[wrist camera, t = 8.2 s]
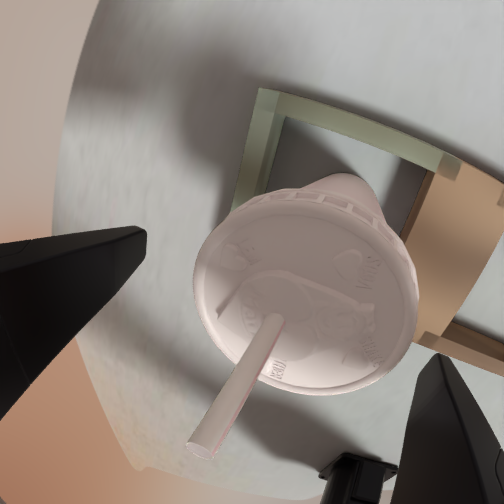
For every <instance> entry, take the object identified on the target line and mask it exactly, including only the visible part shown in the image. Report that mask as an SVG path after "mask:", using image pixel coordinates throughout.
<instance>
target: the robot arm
mask: <svg viewBox="0 0 504 504" xmlns="http://www.w3.org/2000/svg"><path fill="white" fill-rule="evenodd" d="M146 245H147V232H146V231H145V230H144V229H142V228H140V227H138V226H126V227H118V228H110V229H102V230H94V231H87V232H79V233H72V234H65V235H58V236H51V237H44V238H37V239H33V240H31V239H30V240H24V241H17V242H10V243H2V244H0V421H1V419H2V418H3V417H4V416H5V414H6V413H7V412H8V411H9V410H10V408H11V407H12V406H13V405H14V404H15V402H16V401H17V400H18V399H19V398H20V397H21V395H22V394H23V393H24V392H25V391H26V390H27V388H28V387H29V386H30V384H32V382H33V381H34V380H35V379H36V378H37V377H38V376H39V375H40V374H41V372H42V371H43V370H44V369H45V368H46V367H47V365H49V364H50V362H51V361H52V360H53V359H54V358H55V357H56V356H57V355H58V354H59V353H60V352H61V350H62V349H63V348H64V347H65V346H66V345H67V344H68V343H69V342H70V341H71V340H72V339H73V338H74V337H75V335H76V334H77V333H78V332H79V331H80V330H81V329H82V328H83V327H84V326H85V325H86V324H87V323H88V322H89V321H90V320H91V319H92V318H93V317H94V316H95V315H96V314H97V313H98V312H99V311H100V310H101V309H102V308H103V306H104V305H105V304H106V303H107V302H108V301H109V300H110V299H111V298H112V297H113V296H114V295H115V294H116V293H117V292H118V291H119V290H120V288H121V287H122V286H123V285H124V283H125V282H126V281H127V280H128V279H129V277H130V276H131V275H132V274H133V272H134V271H135V270H136V269H137V268H138V266H139V265H140V264H141V263H142V262H143V260H144V258H145V256H146ZM500 448H501V446H500V444H499V442H498V440H497V438H496V436H495V434H494V432H493V430H492V429H491V427H490V425H489V423H488V421H487V420H486V418H485V416H484V414H483V412H482V411H481V409H480V407H479V405H478V404H477V402H476V400H475V399H474V397H473V395H472V393H471V392H470V390H469V388H468V387H467V385H466V383H465V382H464V380H463V379H462V377H461V375H460V374H459V372H458V370H457V369H456V367H455V366H454V364H453V363H452V361H451V359H450V358H449V357H448V356H445V355H443V354H440V353H436V354H435V355H434V356H433V357H432V358H431V359H430V360H429V362H428V363H427V364H426V365H425V367H424V368H423V369H422V370H421V372H420V373H419V375H418V378H417V383H416V387H415V392H414V396H413V400H412V405H411V409H410V413H409V417H408V421H407V426H406V431H405V437H404V443H403V448H402V454H401V459H400V464H399V468H397V467H393V466H390V465H386V464H382V463H378V462H375V461H371V460H368V459H364V458H361V457H358V456H355V455H351V454H348V453H343V454H341V455H340V456H339V457H338V458H337V459H336V460H335V461H333V462H332V463H331V464H330V465H329V466H327V467H326V468H325V469H324V470H323V471H321V472H320V473H319V476H318V477H319V478H321V479H324V480H327V484H326V487H325V490H324V493H323V496H322V499H321V502H320V504H379V501H380V498H381V493H382V488H383V483H384V482H385V481H387V480H388V479H390V478H392V477H393V476H395V475H396V474H397V478H396V482H395V486H394V491H393V495H392V499H391V502H390V504H504V451H503V449H502V448H501V449H500ZM0 504H6V503H5V502H4V501H3V500H2V499H1V497H0Z"/></svg>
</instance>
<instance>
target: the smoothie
mask: <svg viewBox="0 0 504 504" xmlns="http://www.w3.org/2000/svg"><path fill="white" fill-rule="evenodd" d="M193 292H194V299H195V303H196V307H197V310H198V313H199V316H200V318H201V321H202V323H203V325H204V327H205V329H206V331H207V332H208V334H209V335H210V337H211V338H212V340H213V341H214V343H215V344H216V345H217V347H218V348H219V349H220V350H221V351H222V352H223V353H224V354H225V355H226V356H227V357H228V358H229V359H230V360H231V361H232V362H233V363H235V364H236V367H235V369H234V370H233V372H232V373H231V375H230V377H229V378H228V380H227V381H226V383H225V385H224V386H223V388H222V389H221V391H220V392H219V394H218V396H217V397H216V399H215V400H214V402H213V403H212V405H211V407H210V408H209V410H208V411H207V413H206V414H205V416H204V417H203V419H202V421H201V422H200V424H199V425H198V427H197V428H196V430H195V431H194V433H193V434H192V436H191V437H190V439H189V440H188V442H187V443H186V446H187V448H188V449H189V450H190V451H191V452H192V453H194V454H195V455H197V456H199V457H201V458H204V459H208V460H211V459H213V458H214V456H215V455H216V453H217V451H218V449H219V448H220V446H221V444H222V442H223V441H224V439H225V437H226V436H227V434H228V432H229V430H230V428H231V427H232V425H233V423H234V421H235V420H236V418H237V416H238V414H239V412H240V411H241V409H242V407H243V405H244V403H245V401H246V400H247V398H248V396H249V394H250V392H251V390H252V388H253V387H254V385H255V383H256V381H257V379H258V380H260V381H262V382H264V383H267V384H269V385H271V386H273V387H276V388H279V389H283V390H286V391H290V392H293V393H299V394H306V395H335V394H342V393H348V392H351V391H355V390H358V389H361V388H363V387H366V386H368V385H370V384H372V383H374V382H376V381H377V380H379V379H381V378H382V377H383V376H385V375H386V374H387V373H389V372H390V371H391V370H392V369H393V368H394V367H395V366H396V365H397V364H398V363H399V362H400V360H401V359H402V358H403V356H404V355H405V353H406V352H407V350H408V348H409V346H410V344H411V342H412V340H413V337H414V334H415V330H416V326H417V318H418V301H419V290H418V282H417V275H416V268H415V266H414V264H413V262H412V260H411V258H410V256H409V254H408V252H407V249H406V247H405V245H404V243H403V241H402V240H401V239H400V238H399V237H398V235H397V234H396V233H395V232H394V231H393V230H392V229H391V228H390V227H389V226H388V225H387V223H386V220H385V218H384V215H383V213H382V210H381V208H380V205H379V203H378V200H377V198H376V195H375V193H374V191H373V190H372V188H371V187H370V186H369V185H368V184H367V183H366V182H365V181H364V180H362V179H361V178H359V177H357V176H355V175H352V174H348V173H336V174H332V175H329V176H327V177H324V178H322V179H320V180H318V181H316V182H313V183H311V184H309V185H307V186H305V187H302V188H300V189H280V190H277V191H273V192H270V193H266V194H263V195H259V196H256V197H253V198H252V199H250V200H249V201H247V202H246V203H244V204H242V205H241V206H239V207H238V208H236V209H235V210H233V211H232V212H230V214H229V215H228V216H227V217H226V219H225V220H224V221H222V222H221V223H220V224H219V225H218V226H217V227H216V228H215V229H214V230H213V231H212V232H211V233H210V234H209V236H208V237H207V238H206V240H205V242H204V243H203V245H202V247H201V249H200V251H199V253H198V256H197V259H196V262H195V267H194V273H193Z"/></svg>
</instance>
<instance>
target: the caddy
mask: <svg viewBox="0 0 504 504" xmlns="http://www.w3.org/2000/svg"><path fill="white" fill-rule="evenodd" d="M285 116H286V117H290V118H293V119H296V120H300V121H303V122H306V123H309V124H312V125H316V126H319V127H322V128H325V129H328V130H331V131H334V132H336V133H339V134H342V135H345V136H348V137H350V138H353V139H356V140H359V141H361V142H364V143H367V144H369V145H372V146H374V147H377V148H379V149H382V150H384V151H387V152H389V153H392V154H394V155H396V156H399V157H401V158H404V159H406V160H408V161H410V162H413V163H415V164H417V165H419V166H422V167H424V168H426V169H427V172H426V175H425V177H424V180H423V182H422V185H421V187H420V190H419V192H418V195H417V197H416V200H415V202H414V204H413V207H412V209H411V211H410V214H409V216H408V218H407V221H406V223H405V225H404V227H403V230H402V232H401V234H400V236H399V238H400V239H401V240H402V241H403V243H404V245H405V247H406V249H407V252H408V254H409V256H410V258H411V260H412V262H413V264H414V266H415V268H416V275H417V282H418V290H419V301H418V318H417V326H416V330H415V334H414V337H413V340H412V342H414V343H417V344H419V345H422V346H425V347H427V348H430V349H432V350H435V351H437V352H440V353H442V354H445V355H448V356H450V357H453V358H455V359H458V360H461V361H463V362H466V363H468V364H471V365H474V366H476V367H479V368H482V369H484V370H487V371H490V372H492V373H495V374H498V375H500V376H503V377H504V344H503V343H501V342H498V341H496V340H494V339H491V338H489V337H487V336H484V335H482V334H480V333H477V332H475V331H473V330H470V329H468V328H466V327H463V326H461V325H459V324H456V323H454V322H452V321H451V320H452V319H453V317H454V316H455V314H456V313H457V311H458V310H459V308H460V307H461V305H462V304H463V302H464V301H465V299H466V297H467V296H468V294H469V293H470V291H471V289H472V288H473V286H474V284H475V283H476V281H477V279H478V278H479V276H480V274H481V273H482V271H483V269H484V267H485V266H486V264H487V262H488V260H489V258H490V257H491V255H492V253H493V251H494V249H495V247H496V245H497V243H498V241H499V239H500V237H501V235H502V233H503V231H504V183H503V182H502V181H500V180H498V179H496V178H495V177H493V176H491V175H489V174H488V173H486V172H484V171H482V170H481V169H479V168H477V167H475V166H473V165H471V164H469V163H467V162H466V161H464V160H462V159H460V158H458V157H456V156H454V155H452V154H450V153H448V152H446V151H444V150H442V149H439V148H437V147H435V146H433V145H431V144H429V143H427V142H424V141H422V140H420V139H418V138H415V137H413V136H411V135H408V134H406V133H404V132H401V131H399V130H396V129H394V128H391V127H389V126H386V125H384V124H381V123H379V122H376V121H373V120H371V119H368V118H365V117H363V116H360V115H357V114H354V113H351V112H348V111H346V110H343V109H340V108H337V107H334V106H330V105H327V104H324V103H321V102H318V101H314V100H311V99H308V98H304V97H301V96H297V95H293V94H290V93H286V92H282V91H278V90H274V89H268V88H260V87H259V89H258V93H257V97H256V102H255V106H254V110H253V114H252V118H251V122H250V127H249V131H248V135H247V139H246V144H245V148H244V152H243V157H242V161H241V166H240V170H239V175H238V179H237V184H236V188H235V193H234V197H233V202H232V206H231V211H230V212H232V211H233V210H235V209H236V208H238V207H239V206H241V205H242V204H244V203H246V202H247V201H249V200H250V199H252V198H253V197H256V196H259V195H263V194H265V192H266V188H267V184H268V180H269V176H270V173H271V169H272V165H273V161H274V157H275V154H276V150H277V146H278V142H279V138H280V135H281V131H282V127H283V123H284V119H285Z"/></svg>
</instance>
